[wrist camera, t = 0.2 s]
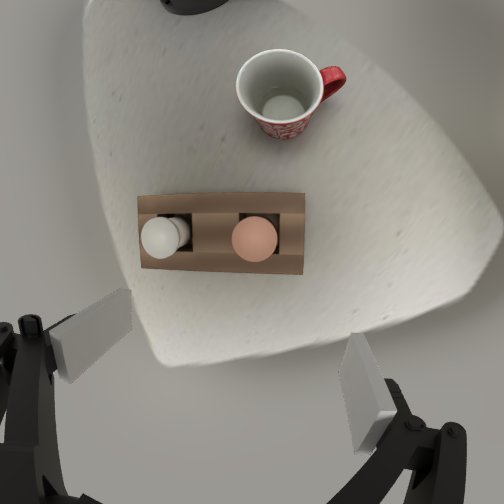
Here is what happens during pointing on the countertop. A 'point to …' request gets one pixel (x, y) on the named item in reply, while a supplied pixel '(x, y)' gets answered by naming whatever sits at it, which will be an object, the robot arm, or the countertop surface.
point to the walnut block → (227, 230)
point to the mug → (284, 90)
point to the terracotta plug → (254, 238)
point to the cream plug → (165, 235)
